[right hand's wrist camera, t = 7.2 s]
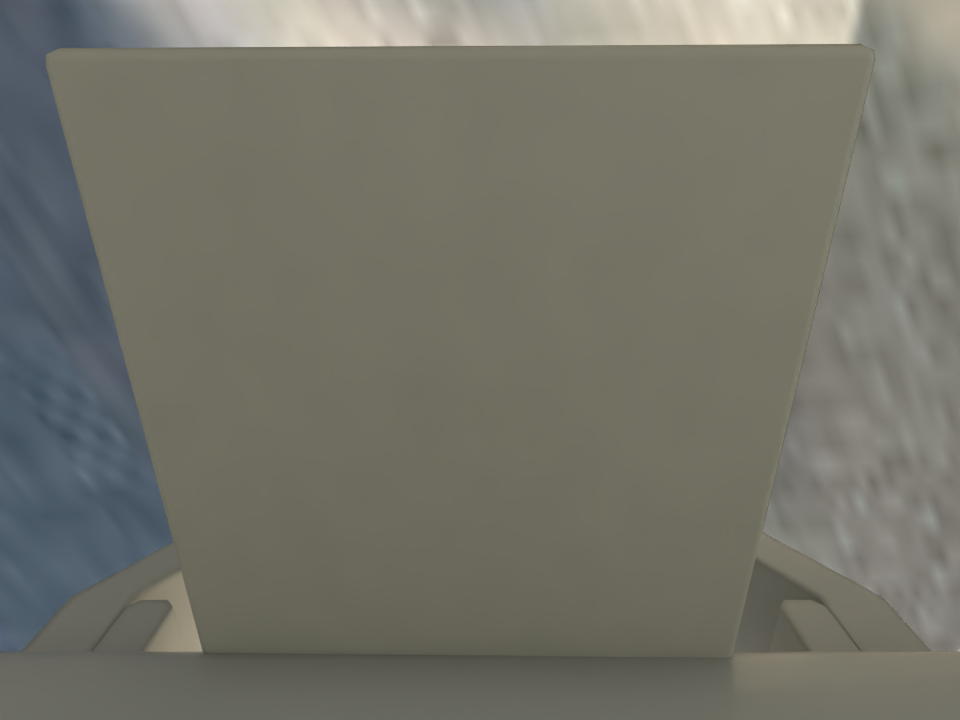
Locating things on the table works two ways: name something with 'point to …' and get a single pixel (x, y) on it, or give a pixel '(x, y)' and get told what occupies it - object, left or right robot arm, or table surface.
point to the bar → (464, 327)
